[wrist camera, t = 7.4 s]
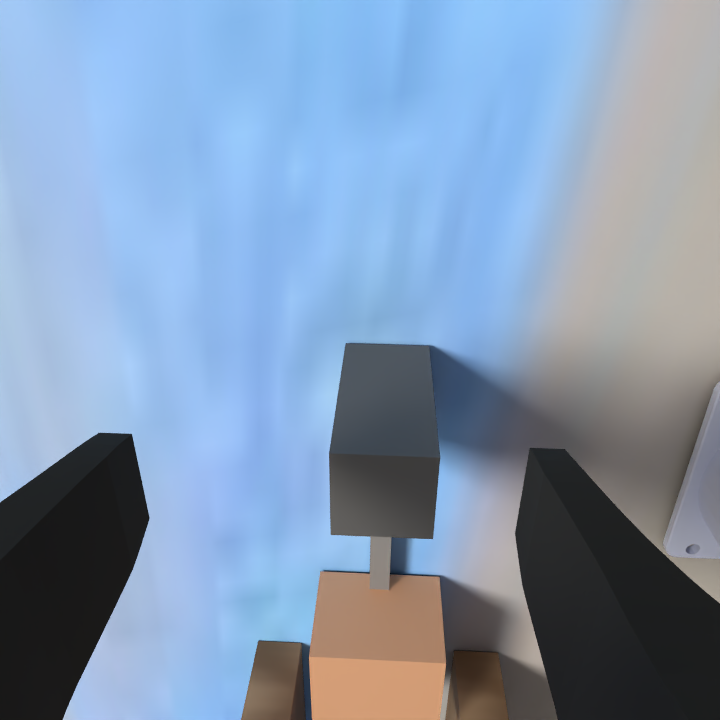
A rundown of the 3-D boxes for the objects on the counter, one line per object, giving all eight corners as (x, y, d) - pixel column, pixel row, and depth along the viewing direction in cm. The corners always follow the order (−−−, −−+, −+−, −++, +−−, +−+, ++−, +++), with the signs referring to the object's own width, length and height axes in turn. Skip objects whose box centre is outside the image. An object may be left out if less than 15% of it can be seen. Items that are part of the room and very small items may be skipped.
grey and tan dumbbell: (462, 346, 21) (484, 459, 16) (431, 653, 29) (439, 796, 24) (313, 342, 21) (286, 451, 16) (322, 648, 29) (306, 789, 24)
